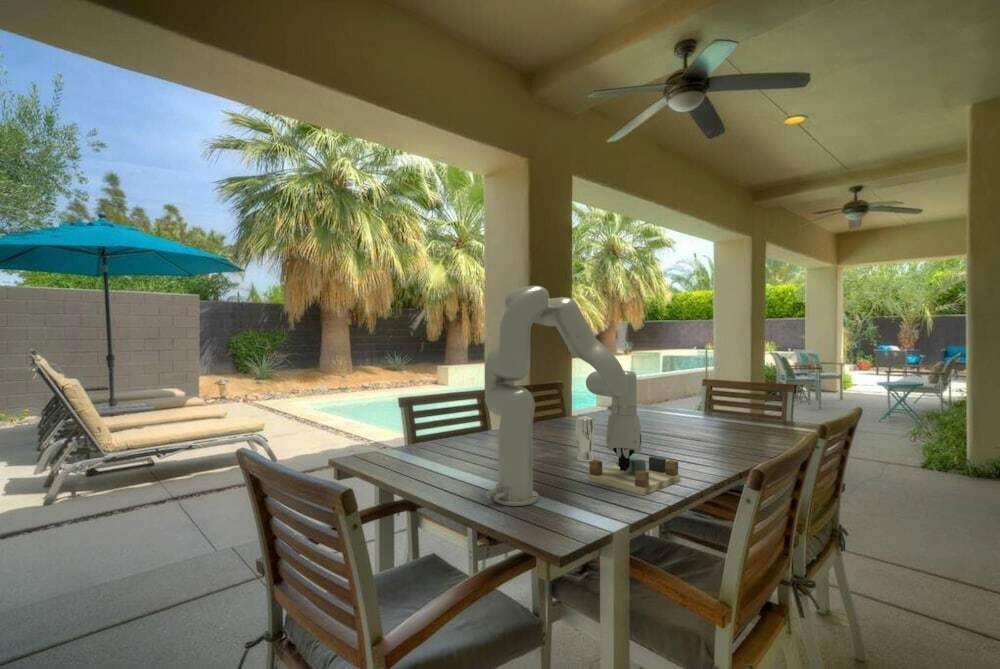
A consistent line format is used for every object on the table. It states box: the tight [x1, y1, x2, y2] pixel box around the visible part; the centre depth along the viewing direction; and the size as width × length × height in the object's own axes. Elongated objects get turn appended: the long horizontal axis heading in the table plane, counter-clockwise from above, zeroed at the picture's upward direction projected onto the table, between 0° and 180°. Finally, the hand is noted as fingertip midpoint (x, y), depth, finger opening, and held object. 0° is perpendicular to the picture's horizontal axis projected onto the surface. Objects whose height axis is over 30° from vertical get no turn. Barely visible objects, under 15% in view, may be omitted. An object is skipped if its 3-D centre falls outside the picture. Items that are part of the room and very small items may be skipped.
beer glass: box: [574, 416, 596, 463], centre depth 185 cm, size 7×7×15 cm
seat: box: [587, 456, 681, 496], centre depth 158 cm, size 20×20×6 cm
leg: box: [623, 450, 647, 475], centre depth 163 cm, size 14×4×5 cm, turn 8°
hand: (624, 469), depth 159 cm, fingers closed
